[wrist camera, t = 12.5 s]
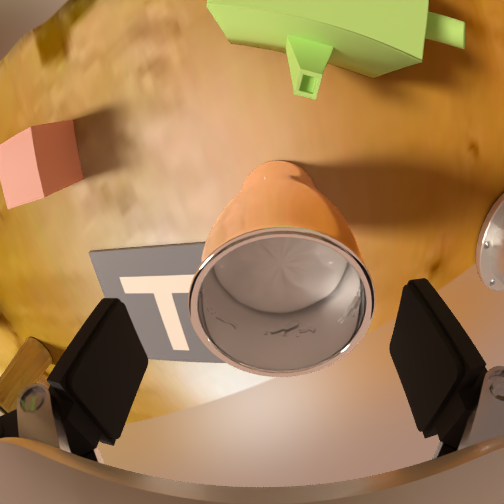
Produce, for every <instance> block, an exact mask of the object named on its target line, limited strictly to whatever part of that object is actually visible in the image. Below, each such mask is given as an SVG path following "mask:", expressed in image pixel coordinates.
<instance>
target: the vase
mask: <svg viewBox="0 0 504 504" xmlns="http://www.w3.org/2000/svg"><path fill="white" fill-rule="evenodd" d="M51 363H52V357H51V354H50V353H49V351H48V350H47V349H46V347H45V346H44V345H43V344H42V343H41V342H39V341H38V340H36V339H35V338H32V337H28V338H27V339H26V341H25V343H24V344H23V345H22V347H21V348H20V349H19V351H18V352H17V354H16V355H15V356H14V358H13V359H12V361H11V362H10V364H9V365H8V367H7V368H6V370H5V371H4V373H3V374H2V375H1V377H0V411H1V412H2V413H3V414H7V413H9V412H11V411H13V410H15V409H17V399H18V397H19V395H20V393H21V392H22V391H23V390H24V389H25V388H26V387H27V386H29V385H31V384H34V383H36V382H37V381H38V380H39V378H40V377H41V376H42V374H43V373H44V372H45V370H46V369H47V368H48V366H49V365H50V364H51Z"/></svg>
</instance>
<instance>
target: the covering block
mask: <svg viewBox="0 0 504 504" xmlns="http://www.w3.org/2000/svg"><path fill="white" fill-rule="evenodd" d="M83 179H84V178H83V173H82V169H81V164H80V159H79V153H78V148H77V142H76V136H75V130H74V123H73V120H68V121H61V122H55V123H48V124H42V125H37V126H32V127H29V128H27V129H26V130H24V131H22V132H20V133H19V134H17V135H15V136H14V137H12V138H10V139H9V140H7V141H5V142H4V143H2V144H1V145H0V180H1V185H2V189H3V193H4V197H5V201H6V205H7V208H8V209H10V208H13V207H16V206H19V205H22V204H25V203H28V202H31V201H34V200H38V199H41V198H44V197H46V196H48V195H50V194H52V193H54V192H56V191H59V190H61V189H63V188H65V187H67V186H69V185H71V184H74V183H76V182H78V181H80V180H83Z"/></svg>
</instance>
